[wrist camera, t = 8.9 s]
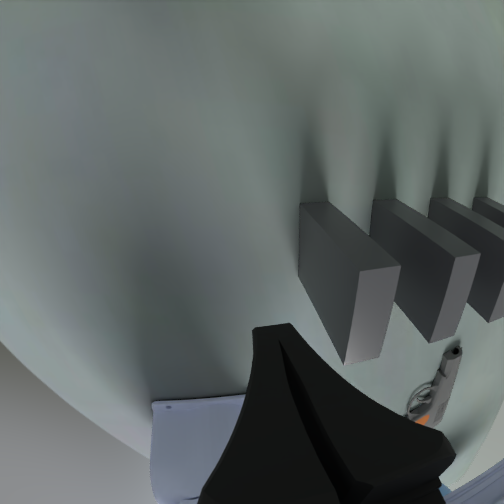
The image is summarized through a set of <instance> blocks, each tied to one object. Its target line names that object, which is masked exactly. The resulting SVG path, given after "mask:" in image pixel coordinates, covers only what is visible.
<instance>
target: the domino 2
mask: <svg viewBox="0 0 504 504" xmlns="http://www.w3.org/2000/svg"><path fill="white" fill-rule="evenodd" d="M370 237H371V238H372V239H373V240H374V241H375V242H376V243H377V244H378V245H380V246H381V247H382V248H383V249H384V250H385V251H386V252H387V253H388V254H389V255H391V256H392V257H393V258H394V259H395V260H396V261H397V262H398V263H399V264H400V265H401V269H400V274H399V279H398V284H397V288H396V293H395V298H394V302H395V303H396V304H397V305H398V306H399V307H400V309H401V310H402V311H403V312H404V313H405V315H406V316H407V317H408V318H409V319H410V321H411V322H412V323H413V324H414V326H415V327H416V328H417V329H418V330H419V332H420V333H421V334H422V335H423V337H424V338H425V339H426V340H427V342H428V343H433V342H436V341H439V340H442V339H445V338H448V337H451V336H454V334H455V332H456V329H457V327H458V324H459V321H460V319H461V316H462V313H463V310H464V307H465V304H466V302H467V299H468V296H469V292H470V289H471V286H472V283H473V280H474V276H475V273H476V269H477V266H478V262H479V258H480V255H481V253H480V252H478V251H477V250H476V249H474V248H473V247H471V246H470V245H468V244H467V243H465V242H464V241H462V240H461V239H460V238H458V237H457V236H455V235H454V234H452V233H451V232H449V231H447V230H446V229H444V228H443V227H441V226H440V225H438V224H437V223H435V222H433V221H432V220H430V219H429V218H427V217H425V216H424V215H422V214H421V213H419V212H417V211H416V210H414V209H412V208H411V207H409V206H407V205H406V204H404V203H402V202H401V201H399V200H397V199H385V200H373V205H372V216H371V226H370Z"/></svg>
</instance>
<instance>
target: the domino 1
mask: <svg viewBox="0 0 504 504" xmlns="http://www.w3.org/2000/svg"><path fill="white" fill-rule="evenodd" d="M400 269H401V265H400V264H399V263H398V262H397V261H396V260H395V259H394V258H393V257H392V256H391V255H389V254H388V253H387V252H386V251H385V250H384V249H383V248H382V247H381V246H380V245H378V244H377V243H376V242H375V241H374V240H373V239H372V238H371V237H370V236H368V235H367V234H366V233H365V232H364V231H363V230H362V229H360V228H359V227H358V226H357V225H356V224H355V223H354V222H352V221H351V220H350V219H349V218H348V217H347V216H345V215H344V214H343V213H342V212H341V211H340V210H338V209H337V208H336V207H335V206H334V205H332V204H331V203H330V202H315V203H300V224H299V270H298V277H299V279H300V280H301V282H302V284H303V286H304V288H305V290H306V292H307V294H308V296H309V298H310V300H311V302H312V304H313V305H314V307H315V309H316V311H317V313H318V315H319V317H320V319H321V321H322V323H323V325H324V327H325V329H326V331H327V333H328V335H329V337H330V339H331V341H332V343H333V345H334V347H335V349H336V351H337V353H338V355H339V357H340V359H341V361H342V363H343V365H348V364H353V363H357V362H361V361H366V360H370V359H374V358H378V357H379V356H380V353H381V349H382V345H383V342H384V338H385V334H386V331H387V327H388V323H389V319H390V315H391V311H392V306H393V302H394V298H395V293H396V288H397V284H398V279H399V274H400Z"/></svg>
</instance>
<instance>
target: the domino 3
mask: <svg viewBox="0 0 504 504" xmlns="http://www.w3.org/2000/svg"><path fill="white" fill-rule="evenodd" d="M428 218H429V219H430V220H432V221H433V222H435V223H437V224H438V225H440V226H441V227H443V228H444V229H446V230H447V231H449V232H451V233H452V234H454V235H455V236H457V237H458V238H460V239H461V240H462V241H464V242H465V243H467V244H468V245H470V246H471V247H473V248H474V249H476V250H477V251H478V252H480V253H481V255H480V258H479V262H478V266H477V269H476V273H475V276H474V280H473V283H472V286H471V289H470V292H469V296H468V299H467V303H468V304H469V305H470V306H471V307H472V308H473V309H474V310H475V311H477V312H478V313H479V314H480V315H481V316H482V317H483V318H484V319H485V320H486V321H487V322H488V323H489V322H492V321H494V320H497V319H499V318H502V317H504V228H503V227H501V226H499V225H498V224H496V223H494V222H492V221H491V220H489V219H487V218H485V217H484V216H482V215H480V214H478V213H476V212H475V211H473V210H471V209H469V208H467V207H465V206H463V205H462V204H460V203H458V202H456V201H454V200H452V199H450V198H431V199H430V207H429V214H428Z"/></svg>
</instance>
